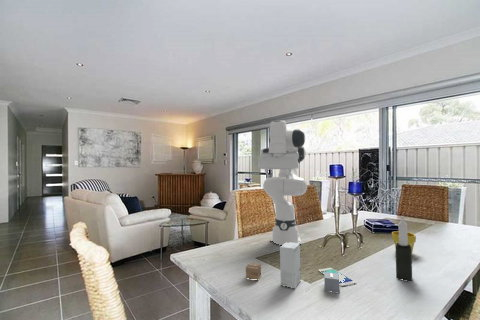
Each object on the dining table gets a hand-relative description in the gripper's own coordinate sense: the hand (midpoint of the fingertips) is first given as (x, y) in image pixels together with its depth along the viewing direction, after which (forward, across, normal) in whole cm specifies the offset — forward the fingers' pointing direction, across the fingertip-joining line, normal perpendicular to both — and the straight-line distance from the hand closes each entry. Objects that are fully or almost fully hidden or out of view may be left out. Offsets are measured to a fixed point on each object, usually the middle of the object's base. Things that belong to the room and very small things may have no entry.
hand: (277, 178), depth 121 cm
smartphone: (+41, -24, +12) cm, 50 cm away
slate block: (+42, -21, +22) cm, 52 cm away
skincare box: (+42, -6, +21) cm, 47 cm away
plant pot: (+36, -64, -23) cm, 77 cm away
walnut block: (+42, +9, +19) cm, 47 cm away
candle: (+40, -51, +8) cm, 66 cm away
